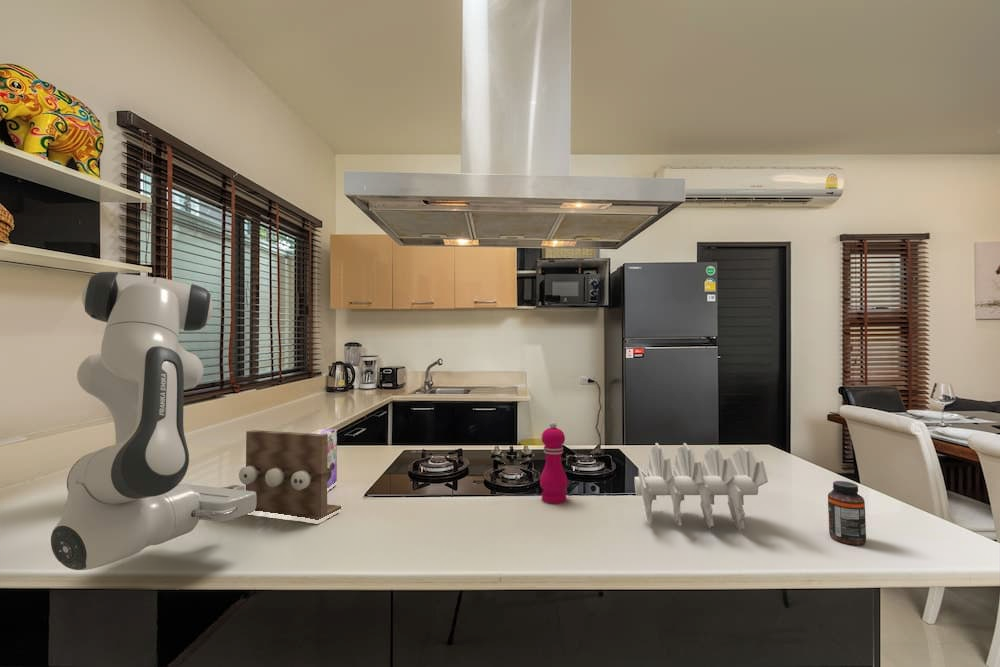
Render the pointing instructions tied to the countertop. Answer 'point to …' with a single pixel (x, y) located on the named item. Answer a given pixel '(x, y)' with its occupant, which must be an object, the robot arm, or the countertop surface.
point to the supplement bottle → (846, 514)
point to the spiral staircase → (702, 480)
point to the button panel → (290, 472)
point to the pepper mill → (553, 466)
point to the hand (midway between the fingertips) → (239, 489)
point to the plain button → (275, 477)
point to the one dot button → (249, 474)
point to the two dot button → (301, 480)
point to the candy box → (330, 454)
